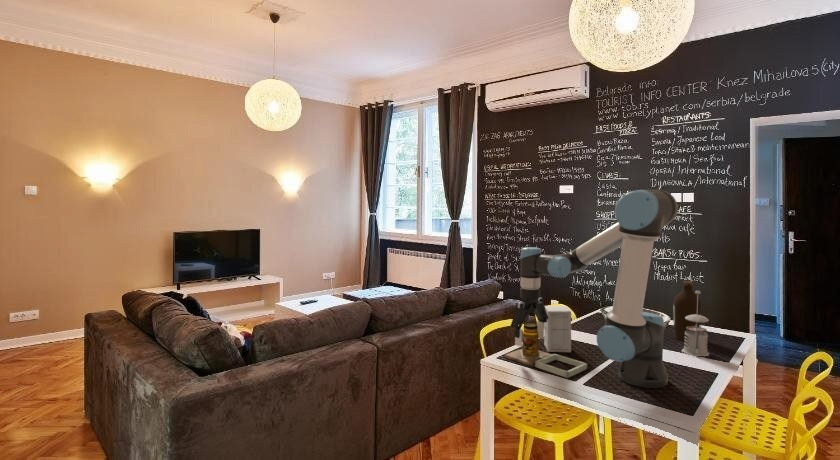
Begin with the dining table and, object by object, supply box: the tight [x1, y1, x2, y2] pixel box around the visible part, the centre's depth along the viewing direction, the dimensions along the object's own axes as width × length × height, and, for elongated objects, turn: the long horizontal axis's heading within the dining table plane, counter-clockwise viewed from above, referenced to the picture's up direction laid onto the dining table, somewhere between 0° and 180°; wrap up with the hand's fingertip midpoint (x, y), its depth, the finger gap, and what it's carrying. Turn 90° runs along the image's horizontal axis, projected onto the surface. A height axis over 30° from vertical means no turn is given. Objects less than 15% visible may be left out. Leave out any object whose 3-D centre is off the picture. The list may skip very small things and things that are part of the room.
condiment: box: [518, 323, 542, 358], centre depth 178 cm, size 7×8×12 cm
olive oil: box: [672, 280, 703, 342], centre depth 199 cm, size 11×11×25 cm
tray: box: [534, 353, 588, 379], centre depth 168 cm, size 14×13×2 cm
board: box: [504, 348, 553, 367], centre depth 178 cm, size 13×14×1 cm
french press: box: [681, 290, 710, 357], centre depth 180 cm, size 10×12×25 cm
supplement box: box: [543, 305, 572, 353], centre depth 188 cm, size 10×9×17 cm
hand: (529, 341), depth 178 cm, fingers open, 13 cm apart
